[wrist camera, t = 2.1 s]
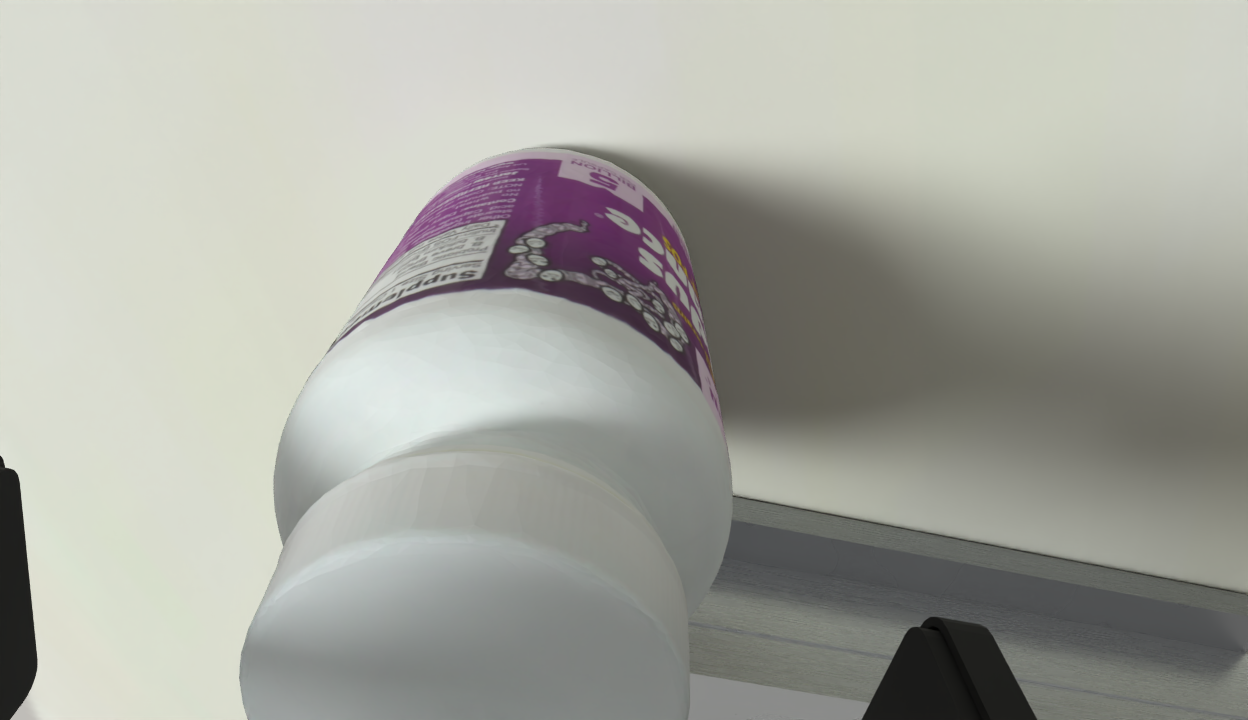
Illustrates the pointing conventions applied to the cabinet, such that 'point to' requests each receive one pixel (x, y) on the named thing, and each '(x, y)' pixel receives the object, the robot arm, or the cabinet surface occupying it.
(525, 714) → the pill bottle
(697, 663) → the grey tray
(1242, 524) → the cabinet surface
